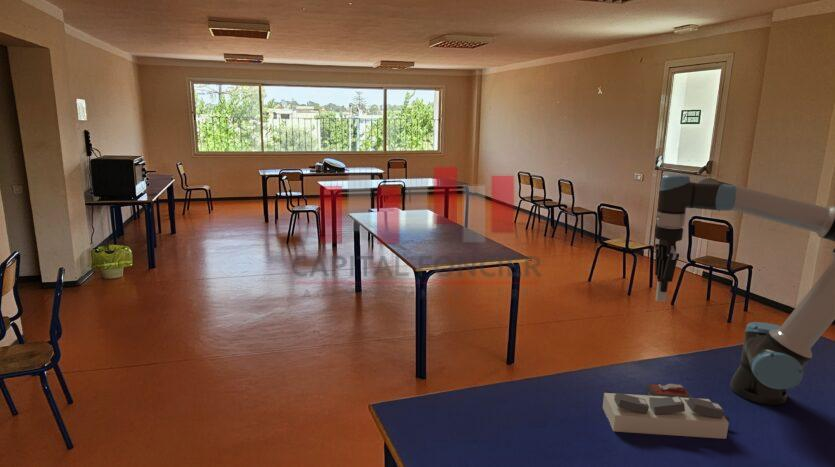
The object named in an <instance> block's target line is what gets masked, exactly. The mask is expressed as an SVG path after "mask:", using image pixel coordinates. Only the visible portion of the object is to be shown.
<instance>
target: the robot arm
mask: <svg viewBox="0 0 835 467" xmlns="http://www.w3.org/2000/svg"><path fill="white" fill-rule="evenodd" d="M658 196H659V197H658V205H657V214H656V215H655V219H656V223H655V224H656V226H655V230H654V238H655V239H657V240H659V242H658V243H655V244H654V248H655V250H654V251H655V261H654V264H655V265H654V270H655V271H654V275H655V276H656V279H657V283H656V290H655V302H661V303H662V302H663V303H664V302H665V303H666V302H667V297H668V296H667V295H668V288H669V283H670V282H673V279H674V275H675V270H676V268H677V267H676V266H677V263H678V260H679V258H680V253H677V242H680V241H682V240H683V234H684V229H683V227H684V226H685V221H686V209H698V210H699V209H700V210H711V211H712V210H713V211H718V212H722V211H724V212H725V211H729V212H730V211H734V212H738V213H741V214H745V215H749V216H753V217H757V218H759V219H760V218H761V219H764V220H768V221H772V222H775V223H780V224H783V225H787V226H790V227H794V228H798V229H802V230H805V231H809V232H811V233H816V235H817V236H818V237H819V238H822V239H825V240H829V241H831V242H834V243H835V205H830V206H827V207H825V206H822V205H817V204H814V203H809V202H805V201H802V200H797V199H795V198H789V197H786V196H785V197H784V196H782V195H777V194H774V193H769V192H764V191H761V190H758V189H752V188H748V187H744V186H741V185H736V184H731V183H728V182H723V181H719V180H717V179H716V178H711V177H708V178H707V177H706V178H703V179H701V180H699V181H698V182H692V181H691V180H690V175H686V174H677V173H676V174H675V173H668V174H664V175H663V176H662V177H661V181H660V187H659V193H658ZM831 254H832V258H833V260H832V262H830V264H829V265H828V266H827V268H826V269H825V270H824V271H823V273H822V274H821V276H819V278H817V280H816V282H815V283H814V284H813V286H812V287H811V288H810V289H809V290H808V292H807V293H806V294H805V295H804V297H802V300H800V302H799V303H798V304H797V305H796V307H795V308H794V309H793V311H792V312H791V313H790V314H789V315H788V317H787V318H786V319H785V321H784V322H783V323H782V324H781V325H778V324H774V323H771V322H769V323H768V322H762V321H761V322H760V321H753V322H752V321H751V322H748V324H746V328H745V330H744V338H743V345H742V350H741V358H740V364H739V366H738V368H737V370H736V371H735V373H734V374H733V376H732V377H731V379H730V385H729V387H730V389H731V391H732V392H734V393H735V394H736V395H738V396H739V397H741V398H743V399H745V400H748V401H751V402H753V403H758V404H760V405H761V404H762V405H768V406H778V405H783V404H784V403H786V402H787V398H788V391H787V390H788V389H789V390H790V389H791V388H794V387H796V386H798V385H799V384H800V382H801V381H802V379H803V377H804V367H805V366H806V365H807V364H808V363H809V361H810V360H811V359H812V357H813V353H812V349H811V348H812V347H814V345H815V343H816V342H818V340H819V339H820V338H821V336H823V334H824V333H825V332H826V331H827V330H828V328H829V327H830V326H831V324H832V323H833V322H834V321H835V248H834V249H832V251H831Z"/></svg>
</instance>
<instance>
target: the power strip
mask: <svg viewBox="0 0 835 467" xmlns="http://www.w3.org/2000/svg"><path fill="white" fill-rule="evenodd" d="M624 394H625V395H629V396H633V397H637V398H641V399H645V401H646V403H647V404H648V406H649V409H648V411H647V414H643V413H639V412H635V411H631V410H627V409H623V408H619V407H618V406H617V404H616V402H615V400H614V398H615V396H616V393H613V392H611V393H610V392H604V393H603V401H602V410H603V412H604V414H605V416H606V419H607V418H608V419H607V421H608V420H609V421H608V423H609V422H610V423H609V425H610V427H611V429H612V431H613V432H617V433H619V432H620V433H630V434H631V433H632V434H647V435H660V436H662V435H664V436H665V435H666V436H675V437H677V436H678V437H679V436H682V437H693V438H694V437H695V438H707V439H708V438H710V439H725V440H726V439H727V435H728V429H729V425H730V424H729V422H730V417H729V416H724V415H723V417H722V419H719V418H715V417H711V416H707V415H703V414H699V413H695V412H693V411H692V410H691V409H690V408H689V406H688V405H687V402H688V400H689V398H682V397H680V399H681V400H682V401H683V403H684V406H685V411H684V412H676V413H667V414H659V415H655V414H654V413H653V411H652V409H651V408H650V403H649V400H650V399H658V398H666V397H665V396H648V394H647V395H645V394H629V393H627V394H626V393H624ZM697 399H699V398H697ZM700 399H701V400H705V401H709V402H712V401H711V400H710V399H709V398H700Z"/></svg>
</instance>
